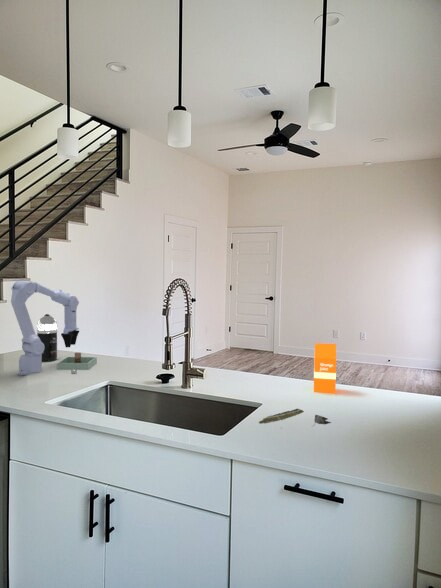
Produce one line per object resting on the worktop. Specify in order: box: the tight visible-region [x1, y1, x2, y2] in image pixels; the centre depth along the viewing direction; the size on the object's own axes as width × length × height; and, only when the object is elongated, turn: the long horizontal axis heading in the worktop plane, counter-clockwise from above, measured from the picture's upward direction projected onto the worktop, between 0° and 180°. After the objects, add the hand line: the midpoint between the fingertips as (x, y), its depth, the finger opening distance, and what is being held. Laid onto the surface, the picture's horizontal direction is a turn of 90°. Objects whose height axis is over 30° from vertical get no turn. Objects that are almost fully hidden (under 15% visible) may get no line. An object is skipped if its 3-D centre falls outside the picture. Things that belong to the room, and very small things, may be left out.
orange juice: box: [313, 342, 337, 394], centre depth 179 cm, size 8×9×20 cm
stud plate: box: [70, 369, 78, 375], centre depth 198 cm, size 10×10×3 cm
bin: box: [56, 356, 98, 371], centre depth 213 cm, size 15×15×4 cm
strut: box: [74, 352, 83, 363], centre depth 213 cm, size 4×4×7 cm
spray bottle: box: [36, 313, 58, 362], centre depth 230 cm, size 10×10×25 cm
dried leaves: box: [258, 408, 332, 429], centre depth 141 cm, size 25×19×2 cm
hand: (70, 345), depth 216 cm, fingers open, 7 cm apart
